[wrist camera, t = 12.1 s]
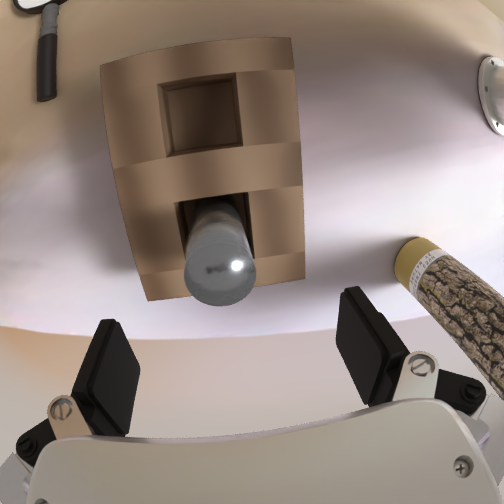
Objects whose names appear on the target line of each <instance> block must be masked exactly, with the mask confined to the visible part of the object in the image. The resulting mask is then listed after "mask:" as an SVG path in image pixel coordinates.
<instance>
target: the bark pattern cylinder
mask: <svg viewBox="0 0 504 504" xmlns="http://www.w3.org/2000/svg"><path fill="white" fill-rule="evenodd" d="M394 270H395V276H396V278H397V279H398V281H399V282H400V283H401V284H402V285H403V286H404V287H405V288H406V289H407V290H408V291H409V292H410V293H411V294H412V295H413V296H414V297H415V298H416V299H417V301H418V302H419V303H420V304H421V305H422V306H423V307H424V308H425V309H426V310H427V311H428V312H429V313H430V314H431V315H432V316H433V318H434V319H435V320H436V321H437V322H438V323H439V324H440V325H441V326H442V327H443V328H444V330H445V331H446V332H447V333H448V334H449V335H450V336H451V337H452V339H453V340H454V341H455V342H456V343H457V344H458V345H459V347H460V348H461V349H462V350H463V351H464V352H465V354H466V355H467V356H468V357H469V358H470V360H471V361H472V362H473V363H474V365H475V366H476V367H477V368H478V369H479V370H480V372H481V373H482V374H483V376H484V377H485V378H486V380H487V381H488V382H489V383H490V385H491V386H492V387H493V389H494V390H495V391H496V393H497V394H498V395H499V397H500V398H501V399H502V400H503V401H504V297H503V296H501V295H500V294H499V293H498V292H497V291H496V290H494V289H493V288H492V287H491V286H490V285H488V284H487V283H486V282H485V281H483V280H482V279H481V278H480V277H478V276H477V275H476V274H475V273H473V272H472V271H471V270H469V269H468V268H467V267H465V266H464V265H463V264H462V263H460V262H459V261H457V260H456V259H455V258H453V257H452V256H451V255H449V254H448V253H447V252H445V251H444V250H442V249H441V248H439V247H438V246H436V245H435V244H434V243H432V242H431V241H429V240H428V239H425V238H416V239H413V240H411V241H409V242H408V243H406V244H405V245H404V246H403V247H402V249H401V250H400V252H399V253H398V255H397V258H396V261H395V266H394Z"/></svg>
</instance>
